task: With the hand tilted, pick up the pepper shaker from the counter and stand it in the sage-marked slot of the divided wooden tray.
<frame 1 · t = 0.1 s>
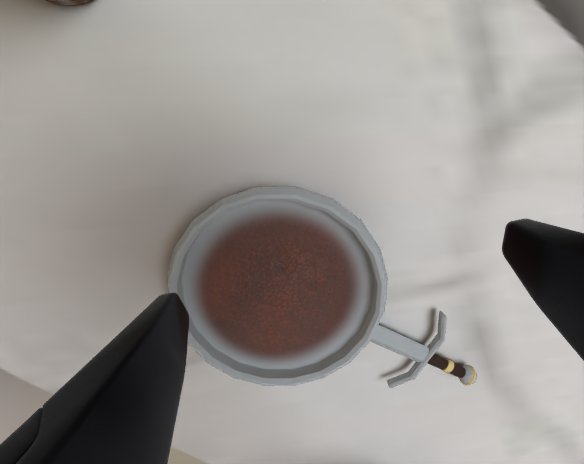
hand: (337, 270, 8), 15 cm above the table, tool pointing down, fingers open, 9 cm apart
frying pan: (335, 308, 27), on the table
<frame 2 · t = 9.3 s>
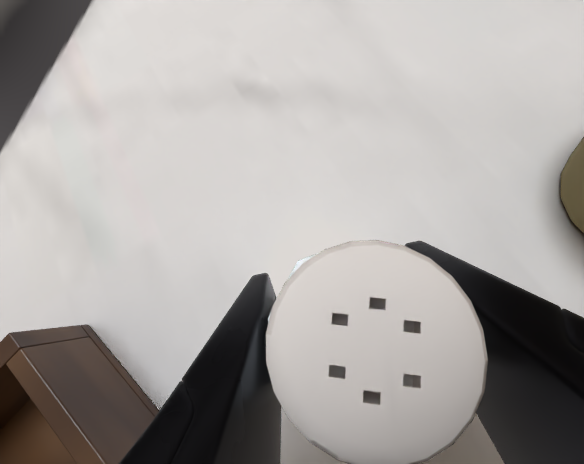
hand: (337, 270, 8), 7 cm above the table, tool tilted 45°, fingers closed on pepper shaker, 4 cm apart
pepper shaker: (339, 311, 15), on the table, touching gripper
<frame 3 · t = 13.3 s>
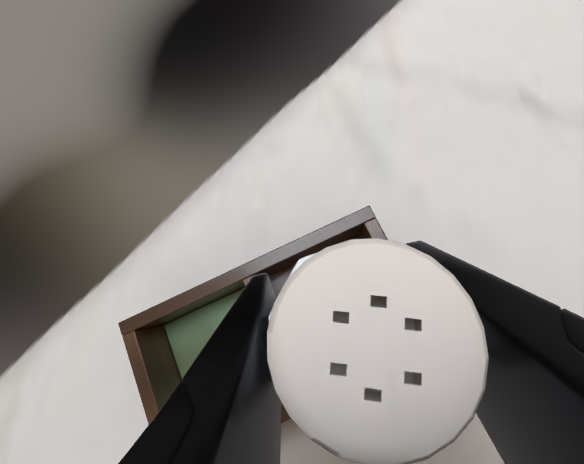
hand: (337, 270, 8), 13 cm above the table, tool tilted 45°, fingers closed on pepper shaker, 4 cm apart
pepper shaker: (339, 311, 15), point 6 cm above the table, touching gripper
divided wooden tray: (281, 327, 21), on the table
when the fingers open (7 cm above the table, at t = 17.3 s): pepper shaker stays where it is, resting on divided wooden tray.
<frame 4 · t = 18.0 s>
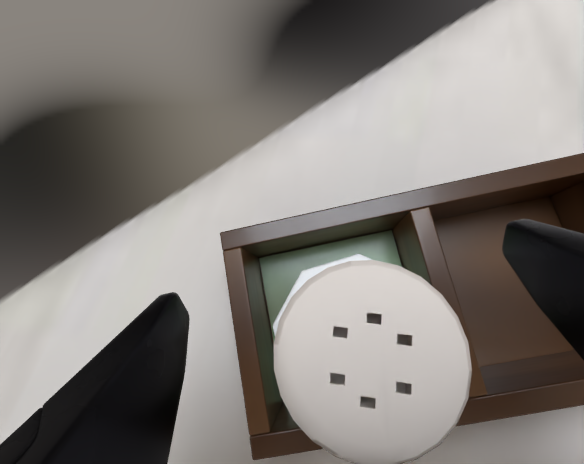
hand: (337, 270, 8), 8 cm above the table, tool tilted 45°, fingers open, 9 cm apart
pepper shaker: (339, 315, 15), point 1 cm above the table, touching divided wooden tray
divided wooden tray: (416, 296, 15), on the table
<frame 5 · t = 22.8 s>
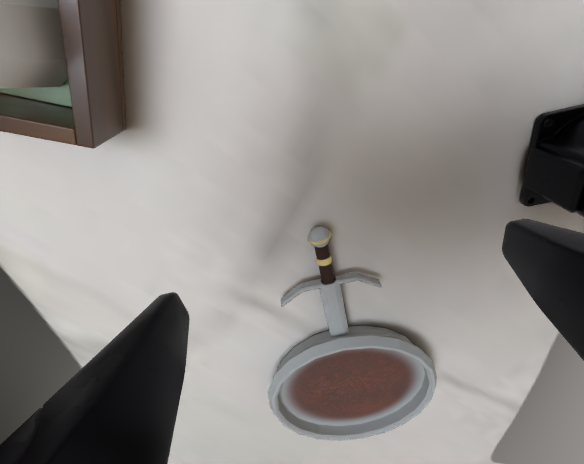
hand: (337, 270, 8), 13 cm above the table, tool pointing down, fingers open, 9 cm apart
pepper shaker: (29, 27, 15), point 1 cm above the table, touching divided wooden tray
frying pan: (340, 341, 30), on the table
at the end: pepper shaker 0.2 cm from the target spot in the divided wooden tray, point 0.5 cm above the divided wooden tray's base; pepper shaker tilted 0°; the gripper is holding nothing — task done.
